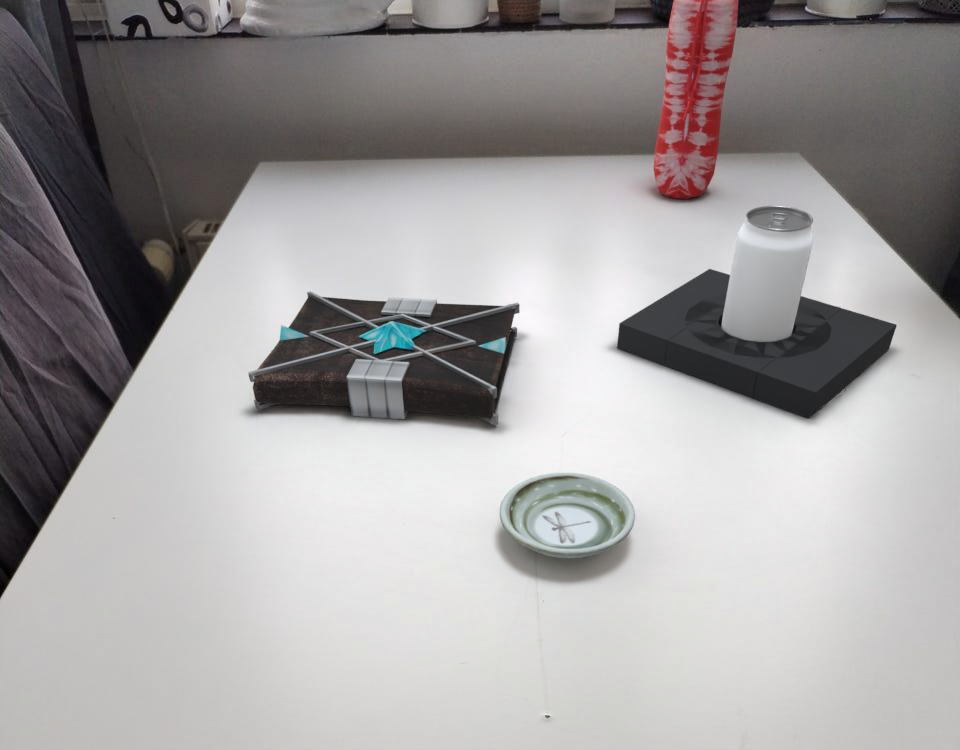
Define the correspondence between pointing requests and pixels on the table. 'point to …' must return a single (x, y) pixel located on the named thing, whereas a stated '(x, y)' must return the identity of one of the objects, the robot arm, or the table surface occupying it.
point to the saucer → (567, 515)
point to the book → (390, 357)
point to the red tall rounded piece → (693, 94)
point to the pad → (757, 346)
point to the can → (768, 273)
